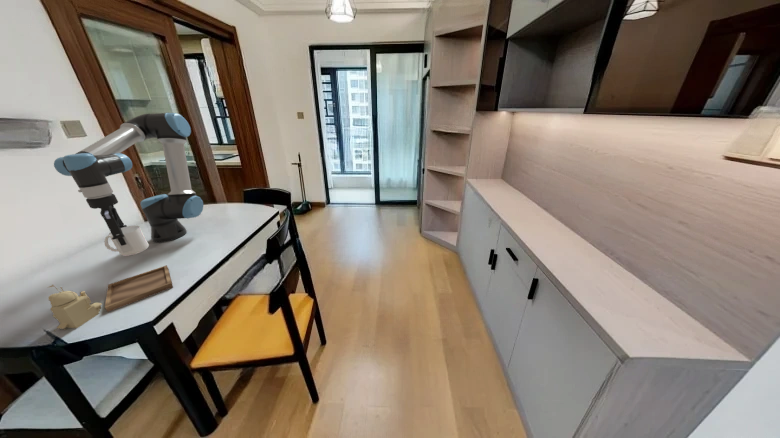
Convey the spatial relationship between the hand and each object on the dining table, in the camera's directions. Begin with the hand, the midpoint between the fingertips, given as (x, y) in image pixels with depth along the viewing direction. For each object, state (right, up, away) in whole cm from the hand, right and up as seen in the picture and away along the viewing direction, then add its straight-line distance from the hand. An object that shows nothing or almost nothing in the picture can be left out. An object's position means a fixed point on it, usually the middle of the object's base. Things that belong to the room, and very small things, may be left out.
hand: (128, 246), depth 103 cm
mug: (0, -2, +2) cm, 2 cm away
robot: (+4, -22, -19) cm, 30 cm away
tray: (+11, -16, -5) cm, 20 cm away
